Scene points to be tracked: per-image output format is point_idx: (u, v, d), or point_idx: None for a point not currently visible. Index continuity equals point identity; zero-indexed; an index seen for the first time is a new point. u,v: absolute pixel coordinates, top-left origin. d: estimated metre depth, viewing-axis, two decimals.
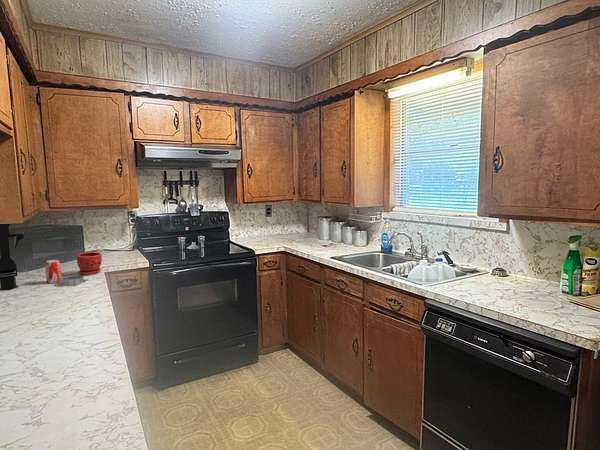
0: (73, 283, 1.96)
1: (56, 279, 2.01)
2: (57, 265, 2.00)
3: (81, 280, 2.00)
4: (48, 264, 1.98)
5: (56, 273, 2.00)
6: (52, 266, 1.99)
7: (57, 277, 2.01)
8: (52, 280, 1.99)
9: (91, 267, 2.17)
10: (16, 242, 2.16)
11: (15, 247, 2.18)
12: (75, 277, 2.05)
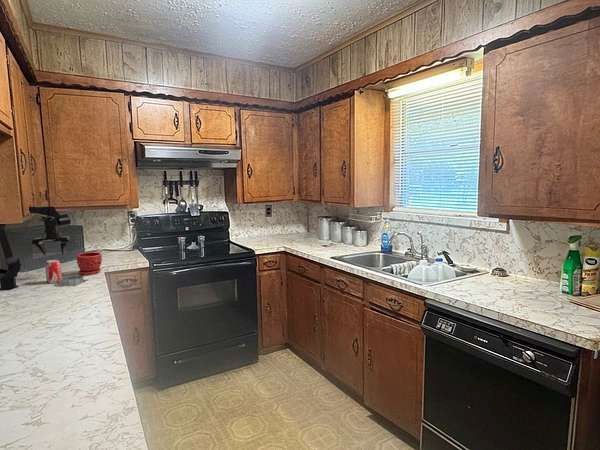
0: (73, 283, 1.96)
1: (56, 279, 2.01)
2: (57, 265, 2.00)
3: (81, 280, 2.00)
4: (48, 264, 1.98)
5: (56, 273, 2.00)
6: (52, 266, 1.99)
7: (57, 277, 2.01)
8: (52, 280, 1.99)
9: (91, 267, 2.17)
10: (62, 246, 2.09)
11: (62, 252, 2.10)
12: (75, 277, 2.05)
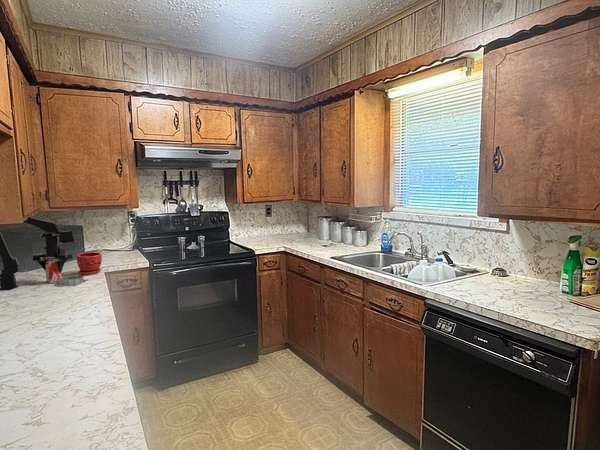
0: (73, 283, 1.96)
1: (56, 279, 2.01)
2: (57, 265, 2.00)
3: (81, 280, 2.00)
4: (48, 264, 1.98)
5: (56, 273, 2.00)
6: (52, 266, 1.99)
7: (57, 277, 2.01)
8: (52, 280, 1.99)
9: (91, 267, 2.17)
10: (58, 264, 1.99)
11: (59, 270, 2.01)
12: (75, 277, 2.05)
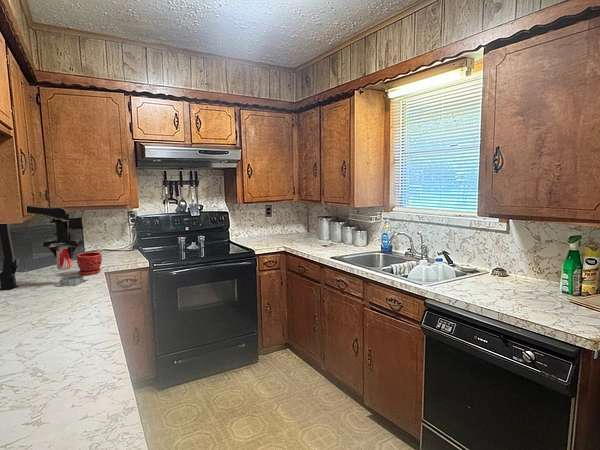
0: (73, 283, 1.96)
1: (67, 266, 1.99)
2: (68, 252, 1.99)
3: (81, 280, 2.00)
4: (59, 250, 1.97)
5: (67, 260, 1.98)
6: (63, 252, 1.97)
7: (68, 264, 1.99)
8: (63, 267, 1.98)
9: (91, 267, 2.17)
10: (69, 250, 1.97)
11: (70, 257, 1.99)
12: (75, 277, 2.05)
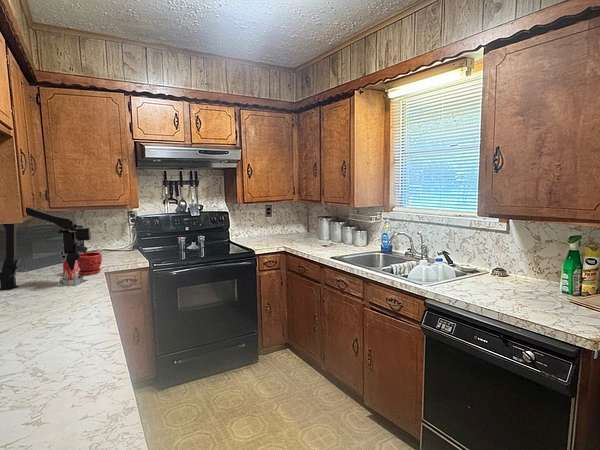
0: (73, 283, 1.96)
1: (68, 277, 1.97)
2: None
3: (81, 280, 2.00)
4: (63, 261, 1.97)
5: (68, 271, 1.97)
6: (64, 263, 1.96)
7: (68, 275, 1.97)
8: (64, 277, 1.98)
9: (91, 267, 2.17)
10: (67, 262, 1.94)
11: (70, 268, 1.96)
12: None
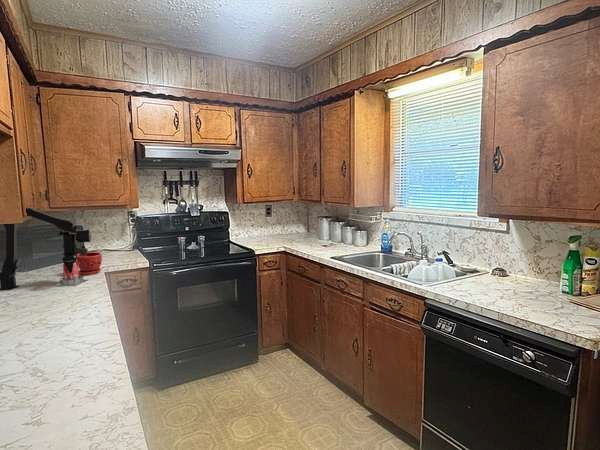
0: (73, 283, 1.96)
1: None
2: None
3: (81, 280, 2.00)
4: None
5: (66, 273, 1.97)
6: (63, 266, 1.97)
7: (67, 278, 1.97)
8: None
9: (91, 267, 2.17)
10: None
11: None
12: None
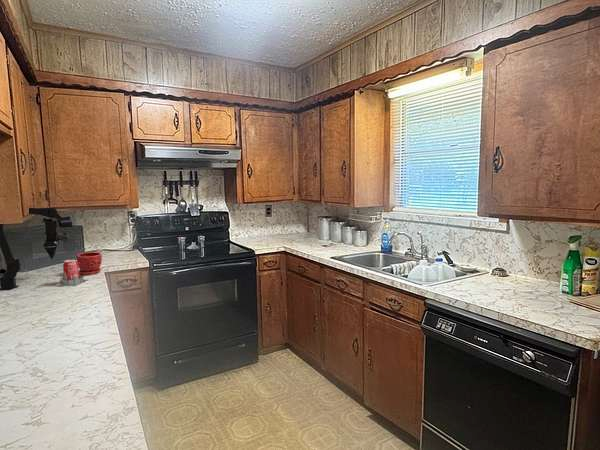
0: (73, 283, 1.96)
1: None
2: (67, 266, 1.97)
3: (81, 280, 2.00)
4: None
5: (66, 273, 1.97)
6: (63, 266, 1.97)
7: (67, 278, 1.97)
8: None
9: (91, 267, 2.17)
10: None
11: (50, 256, 2.02)
12: None
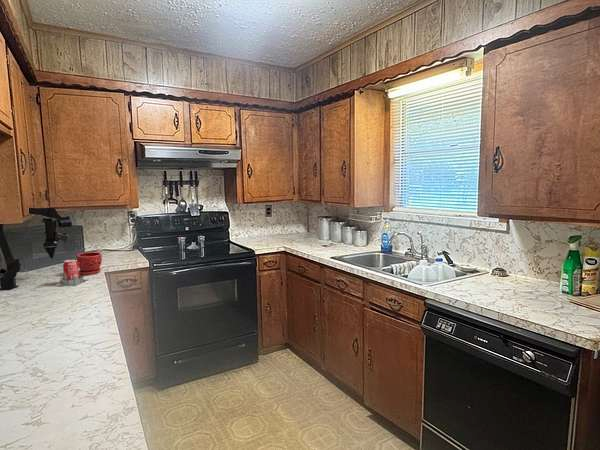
0: (73, 283, 1.96)
1: None
2: (67, 266, 1.97)
3: (81, 280, 2.00)
4: None
5: (66, 273, 1.97)
6: (63, 266, 1.97)
7: (67, 278, 1.97)
8: None
9: (91, 267, 2.17)
10: None
11: None
12: None
